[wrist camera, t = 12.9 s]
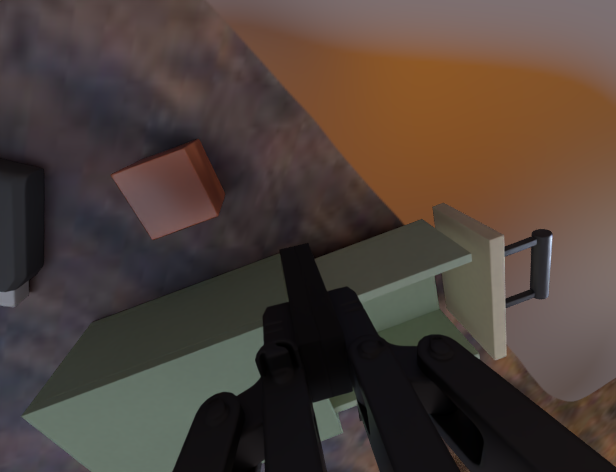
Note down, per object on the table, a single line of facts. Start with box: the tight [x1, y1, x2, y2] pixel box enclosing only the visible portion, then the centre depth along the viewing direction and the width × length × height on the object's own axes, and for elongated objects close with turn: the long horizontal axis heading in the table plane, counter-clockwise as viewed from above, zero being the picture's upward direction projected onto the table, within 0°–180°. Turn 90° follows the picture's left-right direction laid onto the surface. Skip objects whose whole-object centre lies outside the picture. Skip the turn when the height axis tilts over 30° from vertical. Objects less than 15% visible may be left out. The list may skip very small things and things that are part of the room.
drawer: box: [315, 203, 552, 413], centre depth 28 cm, size 25×13×8 cm, turn 108°
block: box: [111, 139, 225, 240], centre depth 22 cm, size 5×5×6 cm
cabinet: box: [21, 254, 343, 472], centre depth 28 cm, size 20×15×10 cm
